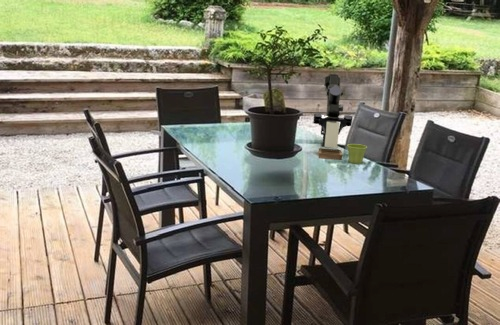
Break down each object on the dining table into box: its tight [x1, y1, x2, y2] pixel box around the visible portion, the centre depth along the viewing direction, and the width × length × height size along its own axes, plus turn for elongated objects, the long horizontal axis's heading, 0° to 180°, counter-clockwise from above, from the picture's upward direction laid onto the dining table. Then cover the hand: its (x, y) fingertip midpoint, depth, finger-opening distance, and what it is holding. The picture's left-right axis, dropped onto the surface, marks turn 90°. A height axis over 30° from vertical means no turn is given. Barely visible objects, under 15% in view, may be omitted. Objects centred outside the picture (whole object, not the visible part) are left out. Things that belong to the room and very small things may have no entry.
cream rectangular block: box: [325, 122, 340, 149], centre depth 270 cm, size 3×6×12 cm, turn 84°
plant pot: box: [346, 143, 368, 165], centre depth 263 cm, size 9×9×9 cm
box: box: [317, 147, 343, 161], centre depth 272 cm, size 12×11×3 cm
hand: (332, 133), depth 268 cm, fingers closed on cream rectangular block, 6 cm apart
